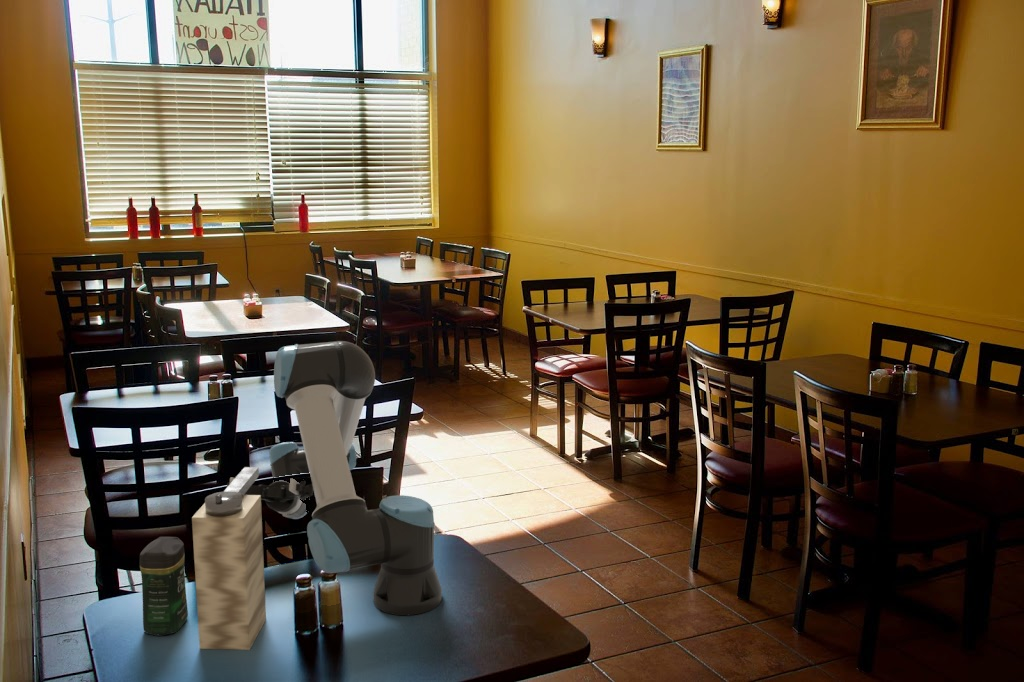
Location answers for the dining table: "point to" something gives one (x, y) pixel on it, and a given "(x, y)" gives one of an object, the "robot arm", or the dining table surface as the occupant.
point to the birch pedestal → (229, 576)
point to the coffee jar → (163, 586)
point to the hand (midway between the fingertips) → (261, 483)
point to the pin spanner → (231, 494)
